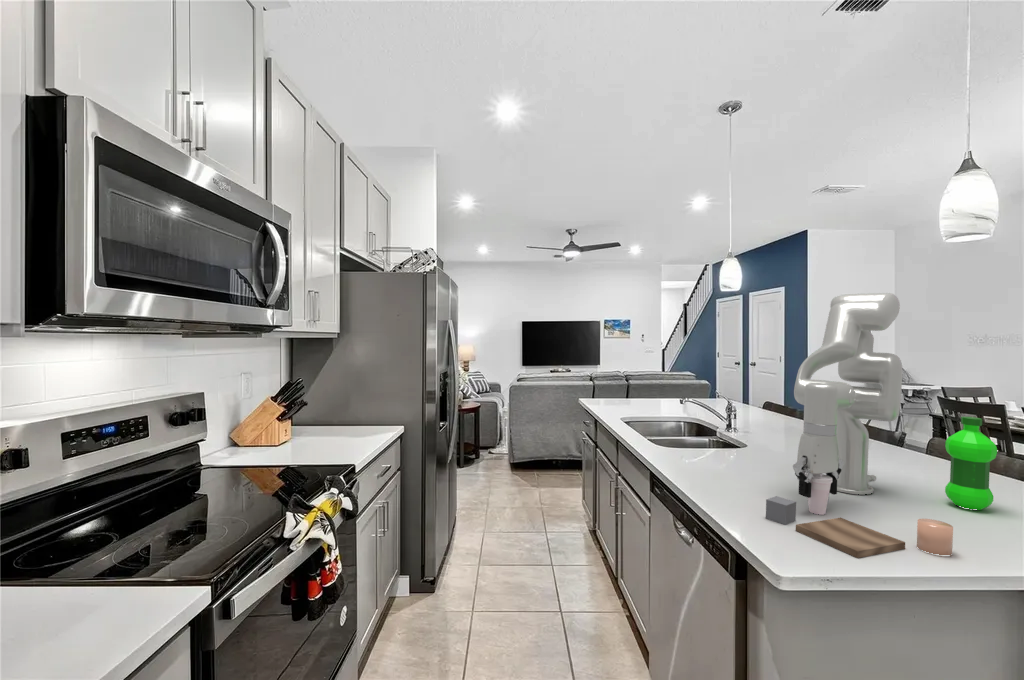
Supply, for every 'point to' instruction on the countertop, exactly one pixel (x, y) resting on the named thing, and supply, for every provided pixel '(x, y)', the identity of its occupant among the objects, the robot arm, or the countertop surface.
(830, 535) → the walnut board
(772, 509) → the rubber block
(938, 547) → the peach rounded cylinder
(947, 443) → the plastic bottle
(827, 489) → the smoothie
